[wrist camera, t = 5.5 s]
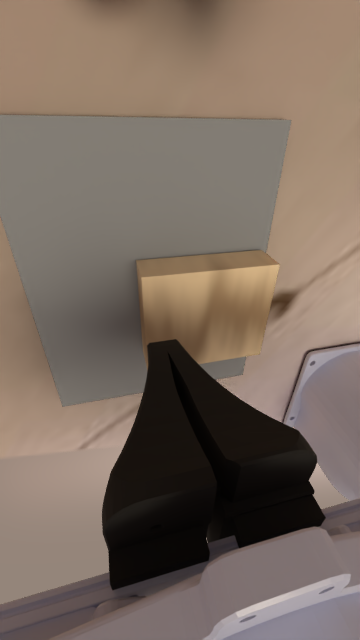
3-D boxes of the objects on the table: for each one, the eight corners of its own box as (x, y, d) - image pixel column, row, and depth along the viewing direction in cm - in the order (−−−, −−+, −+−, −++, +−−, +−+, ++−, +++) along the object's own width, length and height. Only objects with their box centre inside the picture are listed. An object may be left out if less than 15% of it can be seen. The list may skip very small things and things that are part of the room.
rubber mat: (240, 370, 23) (242, 374, 22) (63, 400, 20) (62, 406, 20) (285, 119, 14) (291, 120, 13) (-29, 114, 11) (-33, 114, 10)
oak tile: (142, 348, 18) (245, 333, 20) (147, 372, 17) (259, 354, 18) (135, 259, 15) (260, 248, 16) (141, 277, 13) (279, 264, 15)
